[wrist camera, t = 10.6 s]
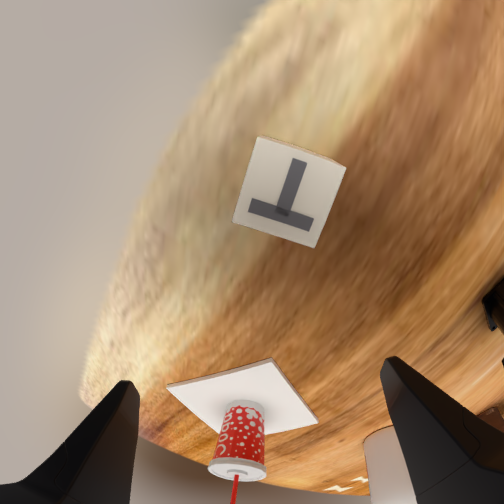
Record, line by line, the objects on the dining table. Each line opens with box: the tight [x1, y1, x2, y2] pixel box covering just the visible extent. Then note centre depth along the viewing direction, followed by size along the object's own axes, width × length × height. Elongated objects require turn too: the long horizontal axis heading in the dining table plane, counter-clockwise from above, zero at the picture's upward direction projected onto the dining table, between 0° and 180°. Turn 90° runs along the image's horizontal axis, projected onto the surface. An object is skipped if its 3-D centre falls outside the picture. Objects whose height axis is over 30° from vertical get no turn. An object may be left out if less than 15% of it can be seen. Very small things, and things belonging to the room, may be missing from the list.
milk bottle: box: [364, 426, 417, 504], centre depth 25 cm, size 8×8×20 cm
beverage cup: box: [208, 400, 266, 504], centre depth 24 cm, size 6×6×14 cm
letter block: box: [232, 135, 346, 248], centre depth 17 cm, size 5×5×5 cm
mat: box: [166, 358, 319, 435], centre depth 31 cm, size 14×14×1 cm
